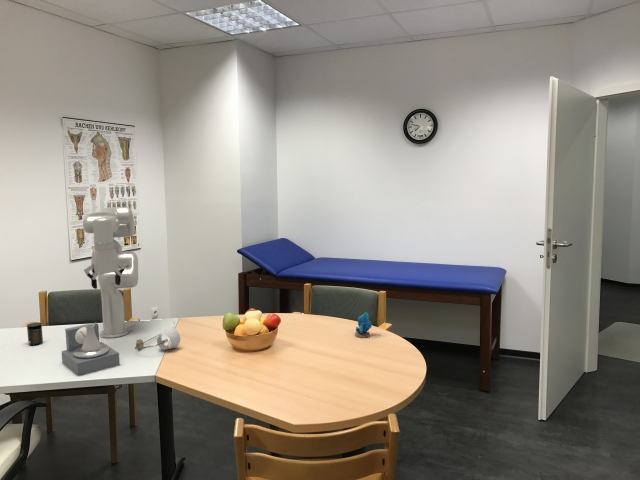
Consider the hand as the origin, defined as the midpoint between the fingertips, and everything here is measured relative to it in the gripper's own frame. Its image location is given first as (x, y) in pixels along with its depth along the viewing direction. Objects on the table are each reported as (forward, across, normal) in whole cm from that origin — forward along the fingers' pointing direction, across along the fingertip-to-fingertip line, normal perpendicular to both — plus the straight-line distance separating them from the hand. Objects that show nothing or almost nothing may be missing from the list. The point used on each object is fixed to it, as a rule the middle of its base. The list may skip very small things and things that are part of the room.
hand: (106, 286), depth 217 cm
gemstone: (+28, -94, +63) cm, 117 cm away
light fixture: (+29, -25, +7) cm, 39 cm away
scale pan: (+23, +12, +12) cm, 29 cm away
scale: (+28, +12, +10) cm, 32 cm away
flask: (+22, +12, +12) cm, 28 cm away
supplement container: (+28, +21, -31) cm, 47 cm away
